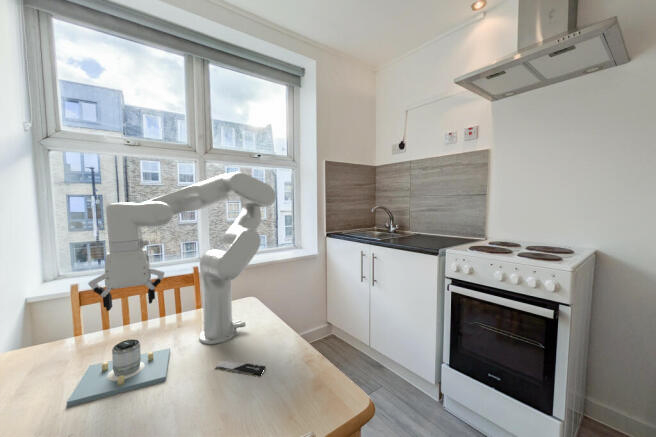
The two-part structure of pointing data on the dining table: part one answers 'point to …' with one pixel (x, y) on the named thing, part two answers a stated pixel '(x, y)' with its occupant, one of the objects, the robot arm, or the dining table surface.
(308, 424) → the dining table surface
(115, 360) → the camera lens
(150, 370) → the pin board
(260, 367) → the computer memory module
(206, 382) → the dining table surface
